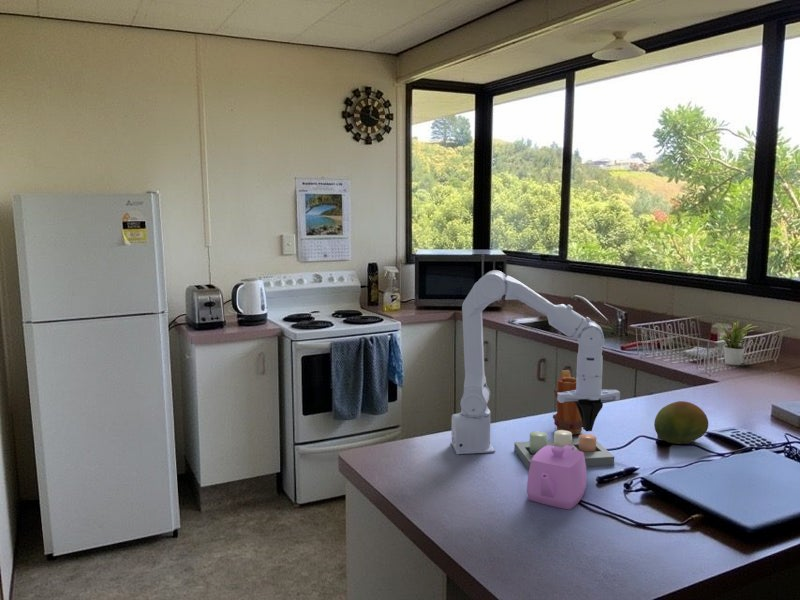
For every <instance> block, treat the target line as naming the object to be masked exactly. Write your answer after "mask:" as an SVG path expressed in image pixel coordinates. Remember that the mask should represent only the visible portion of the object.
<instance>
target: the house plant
mask: <svg viewBox="0 0 800 600" xmlns="http://www.w3.org/2000/svg"><path fill="white" fill-rule="evenodd" d="M717 324H718V325H720V327H721V329H722V330H723V331H724V333H722V335H723V336H719V337H718V338H719V339H721V340H723V341H724V342H725V343H726V344H724V345H723V353H724V360H725V361H724V362H725V364H727V365H731V366H741V365H742V362H743V358H744V354H745V351H746V347H745V346H743V345H744V344H745V343H746V342H748V341H749V340H752V341H753V342H754V341H755V340H754V339H753V337H752V338H750V337H749V338H748V337H745V335H746V334H748V333H749V332H753V331H755V330H753V329H752V330H751V328H757V327H759V326H758V325H753V323H750V324H748V325H746V326H745V327H743V328H740V323H739V320H738V319H737V320H736V322H735V321H732V324H733V326H732V329H731V330H730V333H729V332H728V330H727V329H726V326H724V325H722V324H721V323H718V322H717ZM752 325H753V326H752ZM749 329H750V330H749ZM745 340H746V341H745ZM742 342H743V343H742ZM741 343H742V345H741Z"/></svg>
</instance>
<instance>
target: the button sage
mask: <svg viewBox="0 0 800 600" xmlns="http://www.w3.org/2000/svg"><path fill="white" fill-rule="evenodd" d="M547 441H548V434H547V433H546V432H544V431H543V432H542V431H531V432H530V433H529V442H530V453H531V454H534V455H535V454H536V453H537V452H538V451H539V450H540V449H542V448H543V447H544V446H547Z"/></svg>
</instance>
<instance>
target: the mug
mask: <svg viewBox="0 0 800 600" xmlns="http://www.w3.org/2000/svg"><path fill="white" fill-rule="evenodd" d="M556 383H557V386H556V387H557V388H555V389H554V390H553V392H554V394H555V397H556V413H555V414H553V415H552V418H553V420H554V422H553V423H554V425H555V427H556V431H558V430H566V431H569V432H571V433H572V436H574V435H580V434H581V433H582V430H583V429H582V428H583V424H582V419H581V416H580V413H579V410H578V408H577V406H576V404H575V401H568V402H564V403H560V402H559V401H558V400H557V393H558V392H567V391H572V390H576V377H572V376H571V371H570V370H569V369H564V370H563V369H562V370H561V372H560V378H558V380H557V382H556Z"/></svg>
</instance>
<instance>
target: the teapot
mask: <svg viewBox="0 0 800 600" xmlns="http://www.w3.org/2000/svg"><path fill="white" fill-rule="evenodd" d="M587 477H588V473H587V467H586V463H585V457H584V453H583V452H582V451H577V450H574V446H569V445H566V446H564V447H563V448H562V447H558V446H550V445H547V446H544V447H543V448H542V449H540V450H539V451H538V452H537V453H536V454H535V455H534V457H533V458H532V459H531V463H530V468H529V469H528V475H527V482H526V494H527V498H528V500H529V501H531V502H535V503H538V504H542V505H545V506H550V507H553V508H558V509H563V510H572V509H573V508H575V506H576V505H577V504H579V502H581V500H582V499H583V496H584V495H585V492H586V489H587V485H588V484H587V482H588V479H587Z"/></svg>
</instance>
